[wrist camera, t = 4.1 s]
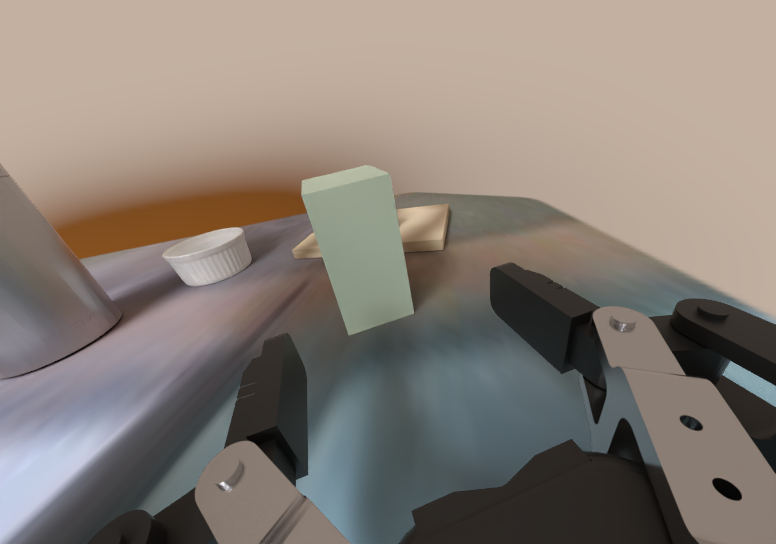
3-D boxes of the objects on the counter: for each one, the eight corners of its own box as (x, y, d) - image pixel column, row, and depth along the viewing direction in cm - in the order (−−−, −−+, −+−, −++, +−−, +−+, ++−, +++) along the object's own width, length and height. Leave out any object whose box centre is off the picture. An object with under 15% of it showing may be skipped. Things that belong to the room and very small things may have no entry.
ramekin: (231, 253, 40) (217, 226, 38) (270, 257, 36) (257, 226, 34) (168, 286, 34) (147, 255, 32) (207, 295, 30) (186, 259, 28)
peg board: (295, 258, 34) (284, 231, 32) (334, 223, 44) (327, 200, 42) (443, 249, 28) (439, 215, 26) (449, 212, 38) (447, 185, 36)
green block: (414, 313, 20) (389, 173, 15) (348, 335, 19) (301, 195, 15) (391, 277, 25) (368, 164, 21) (339, 294, 25) (302, 180, 20)
